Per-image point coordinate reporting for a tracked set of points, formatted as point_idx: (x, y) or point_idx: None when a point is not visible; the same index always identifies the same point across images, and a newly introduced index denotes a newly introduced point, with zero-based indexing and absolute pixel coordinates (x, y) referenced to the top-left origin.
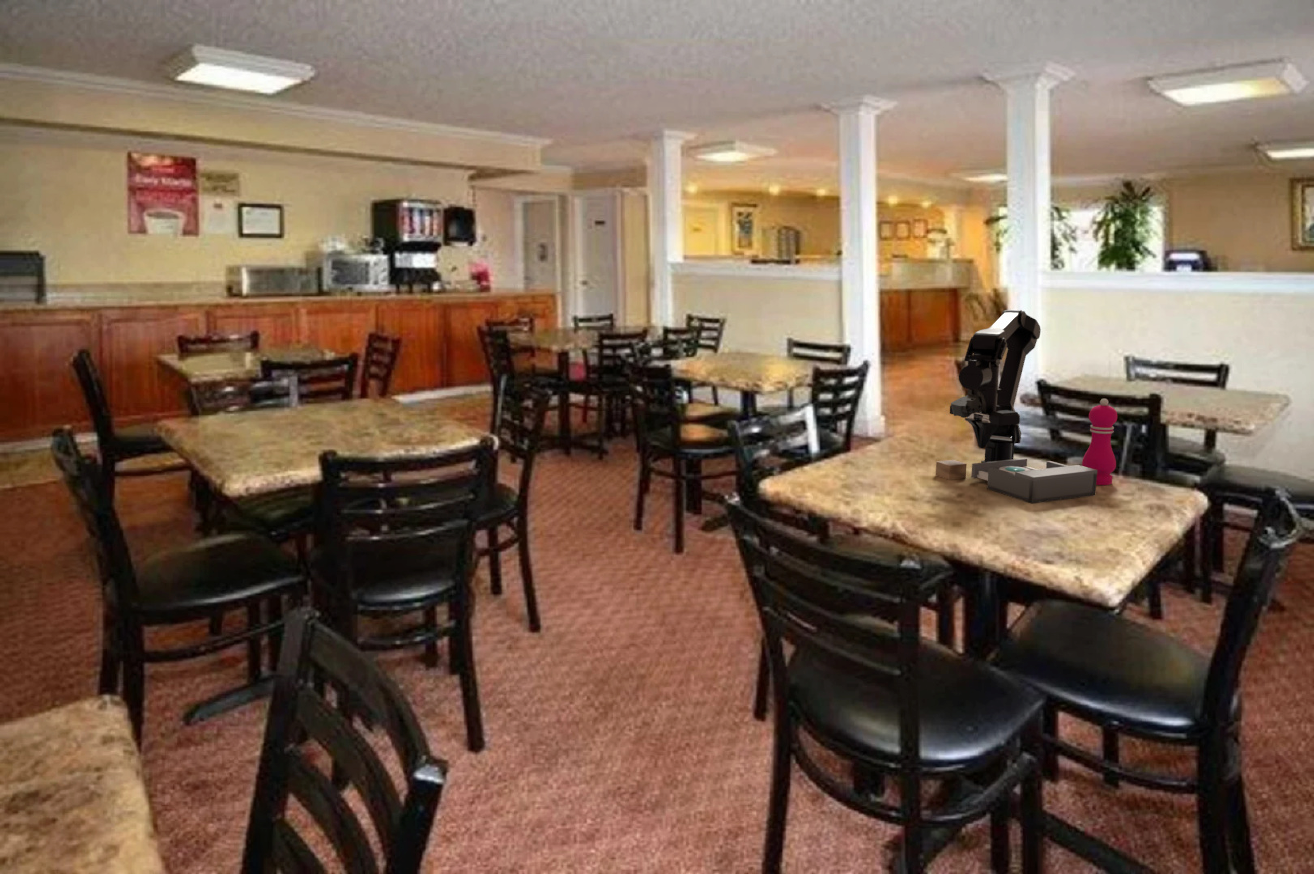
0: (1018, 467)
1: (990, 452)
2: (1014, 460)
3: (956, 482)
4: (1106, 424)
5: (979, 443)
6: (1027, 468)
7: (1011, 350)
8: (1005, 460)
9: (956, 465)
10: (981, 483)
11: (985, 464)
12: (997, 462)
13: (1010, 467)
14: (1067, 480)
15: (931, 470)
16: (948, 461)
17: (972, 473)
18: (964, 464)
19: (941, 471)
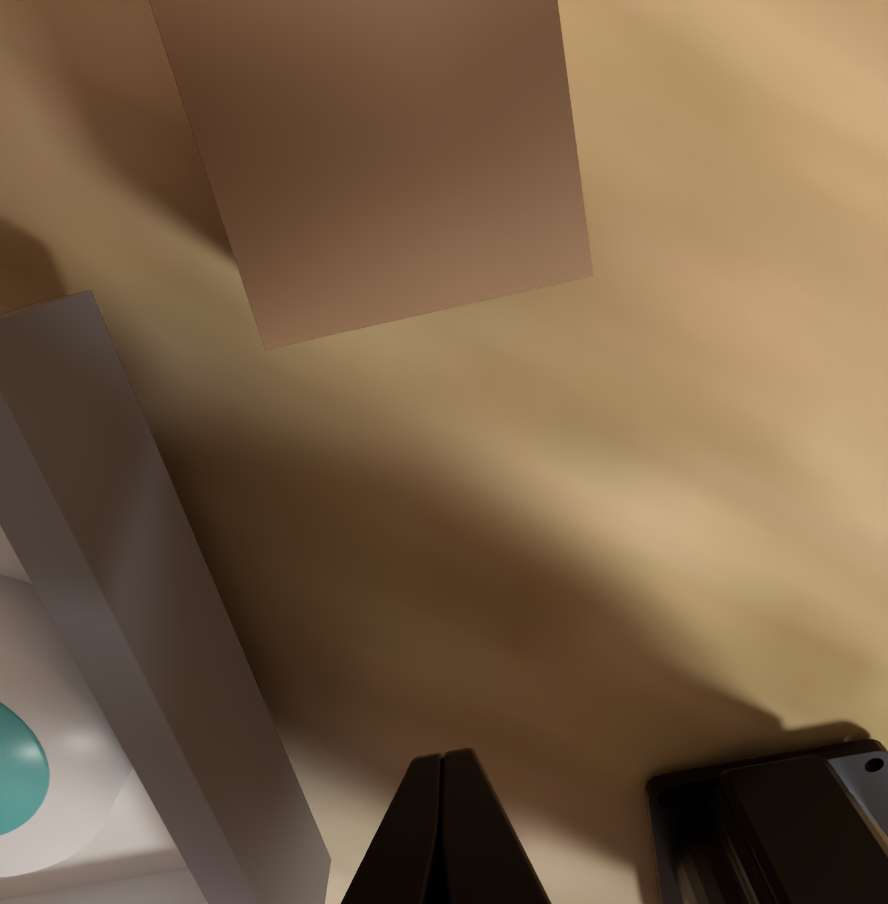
0: (53, 828)
1: (798, 874)
2: (209, 897)
3: (73, 64)
4: None
5: (439, 809)
6: (186, 897)
7: None
8: (193, 820)
9: (200, 138)
10: None
11: (20, 529)
12: (107, 707)
13: (27, 760)
14: None
15: (803, 45)
16: (484, 124)
17: (42, 303)
18: (254, 308)
19: None
